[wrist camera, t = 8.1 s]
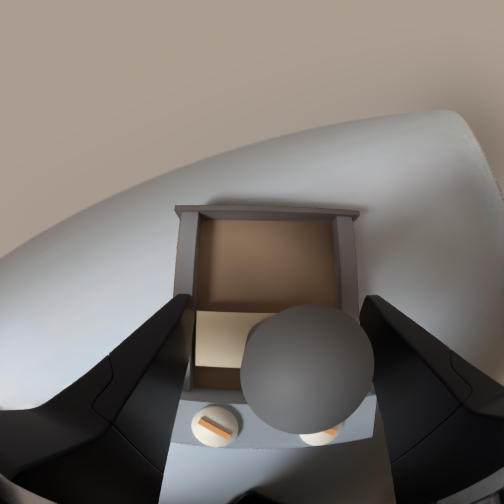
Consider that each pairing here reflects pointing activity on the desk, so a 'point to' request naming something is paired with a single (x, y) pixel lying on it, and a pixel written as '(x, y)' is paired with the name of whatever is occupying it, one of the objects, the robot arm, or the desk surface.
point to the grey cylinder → (292, 363)
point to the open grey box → (262, 267)
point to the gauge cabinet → (254, 423)
